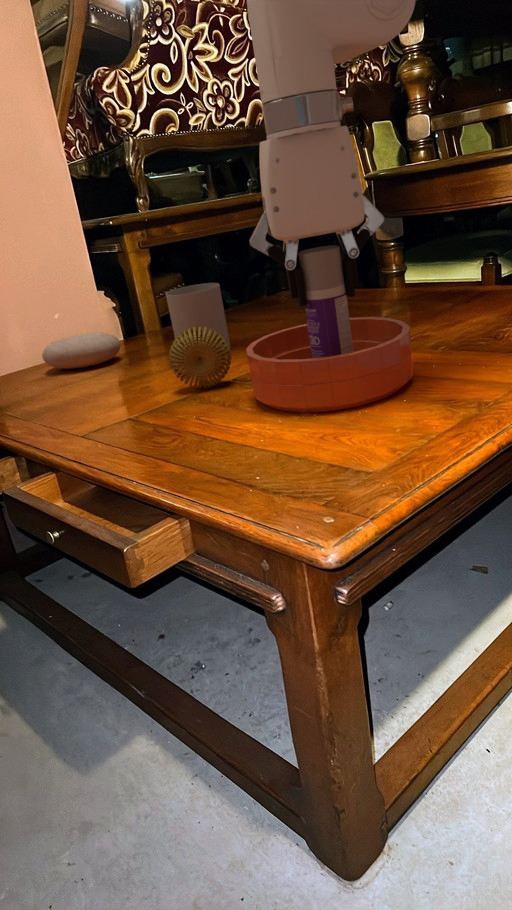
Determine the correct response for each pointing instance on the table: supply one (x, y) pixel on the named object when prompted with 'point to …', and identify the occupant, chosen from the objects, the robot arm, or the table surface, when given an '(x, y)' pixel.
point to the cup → (198, 309)
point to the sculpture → (200, 357)
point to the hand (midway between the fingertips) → (325, 297)
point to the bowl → (331, 367)
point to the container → (326, 301)
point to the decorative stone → (81, 350)
